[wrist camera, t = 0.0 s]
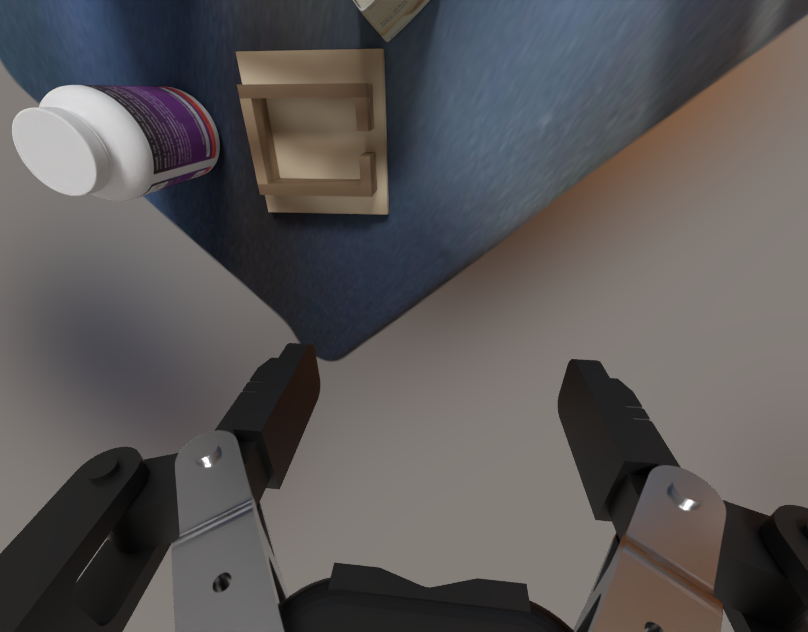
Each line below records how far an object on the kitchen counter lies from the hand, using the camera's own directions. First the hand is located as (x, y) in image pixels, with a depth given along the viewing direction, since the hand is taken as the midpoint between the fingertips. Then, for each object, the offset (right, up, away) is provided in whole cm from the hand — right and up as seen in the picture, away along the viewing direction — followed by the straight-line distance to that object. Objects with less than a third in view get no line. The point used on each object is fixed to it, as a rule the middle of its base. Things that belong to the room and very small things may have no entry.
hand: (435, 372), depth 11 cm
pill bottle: (-23, +20, +25) cm, 40 cm away
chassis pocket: (-9, +19, +24) cm, 32 cm away
